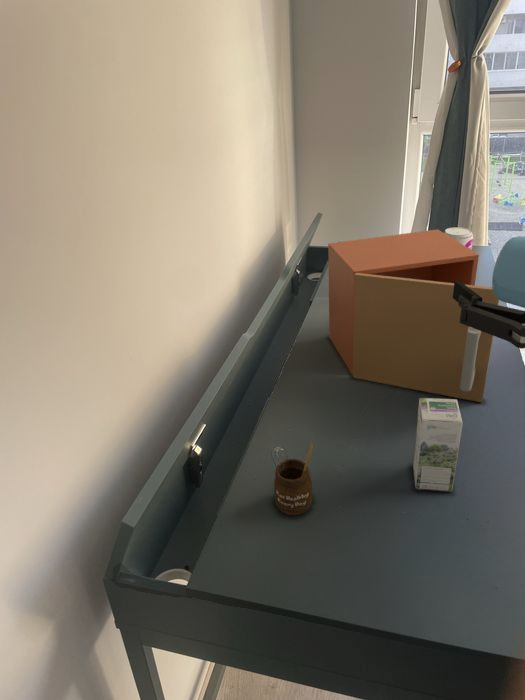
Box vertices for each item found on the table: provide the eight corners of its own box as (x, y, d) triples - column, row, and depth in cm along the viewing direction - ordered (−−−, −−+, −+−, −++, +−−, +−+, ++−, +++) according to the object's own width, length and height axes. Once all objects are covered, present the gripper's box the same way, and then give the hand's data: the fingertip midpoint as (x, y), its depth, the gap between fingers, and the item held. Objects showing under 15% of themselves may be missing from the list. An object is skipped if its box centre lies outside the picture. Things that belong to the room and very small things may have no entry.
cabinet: (464, 357, 117) (479, 254, 105) (352, 375, 114) (354, 271, 102) (429, 322, 133) (437, 229, 121) (329, 337, 130) (328, 243, 118)
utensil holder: (276, 488, 87) (272, 431, 81) (315, 489, 86) (313, 431, 80) (273, 516, 82) (268, 457, 76) (314, 517, 81) (312, 457, 75)
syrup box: (448, 468, 88) (457, 396, 81) (452, 494, 83) (463, 420, 76) (412, 465, 89) (418, 395, 82) (415, 491, 84) (422, 418, 77)
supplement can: (472, 279, 154) (479, 229, 146) (459, 289, 149) (465, 237, 141) (446, 273, 159) (451, 225, 151) (432, 282, 154) (437, 232, 146)
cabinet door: (477, 420, 98) (496, 304, 86) (343, 392, 109) (344, 286, 97) (482, 399, 103) (501, 288, 91) (354, 375, 114) (356, 272, 102)
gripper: (495, 394, 62) (418, 317, 80) (684, 362, 65) (568, 294, 83) (505, 339, 58) (421, 271, 76) (705, 306, 61) (579, 248, 79)
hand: (498, 283), depth 80 cm, fingers open, 13 cm apart
